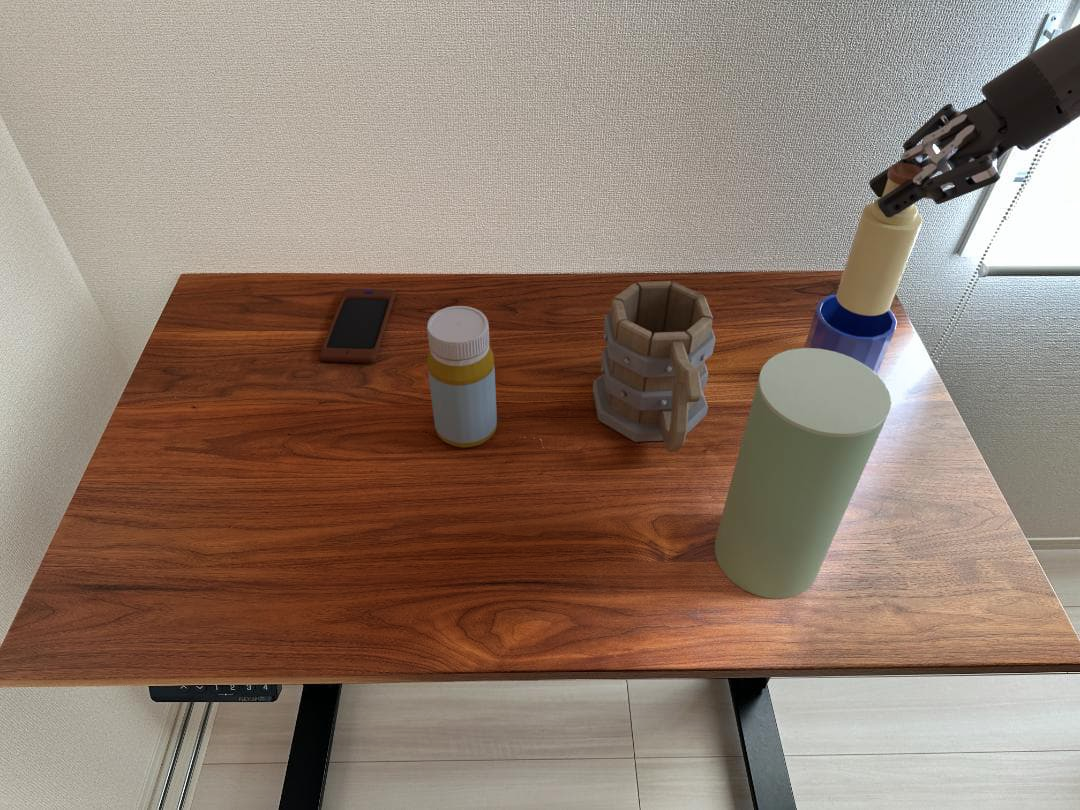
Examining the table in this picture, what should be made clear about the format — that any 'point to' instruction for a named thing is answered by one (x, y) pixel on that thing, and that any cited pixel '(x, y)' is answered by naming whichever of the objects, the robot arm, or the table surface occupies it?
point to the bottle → (461, 376)
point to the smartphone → (358, 326)
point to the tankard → (655, 363)
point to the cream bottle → (880, 251)
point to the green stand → (798, 468)
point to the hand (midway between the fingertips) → (878, 199)
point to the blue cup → (851, 332)
